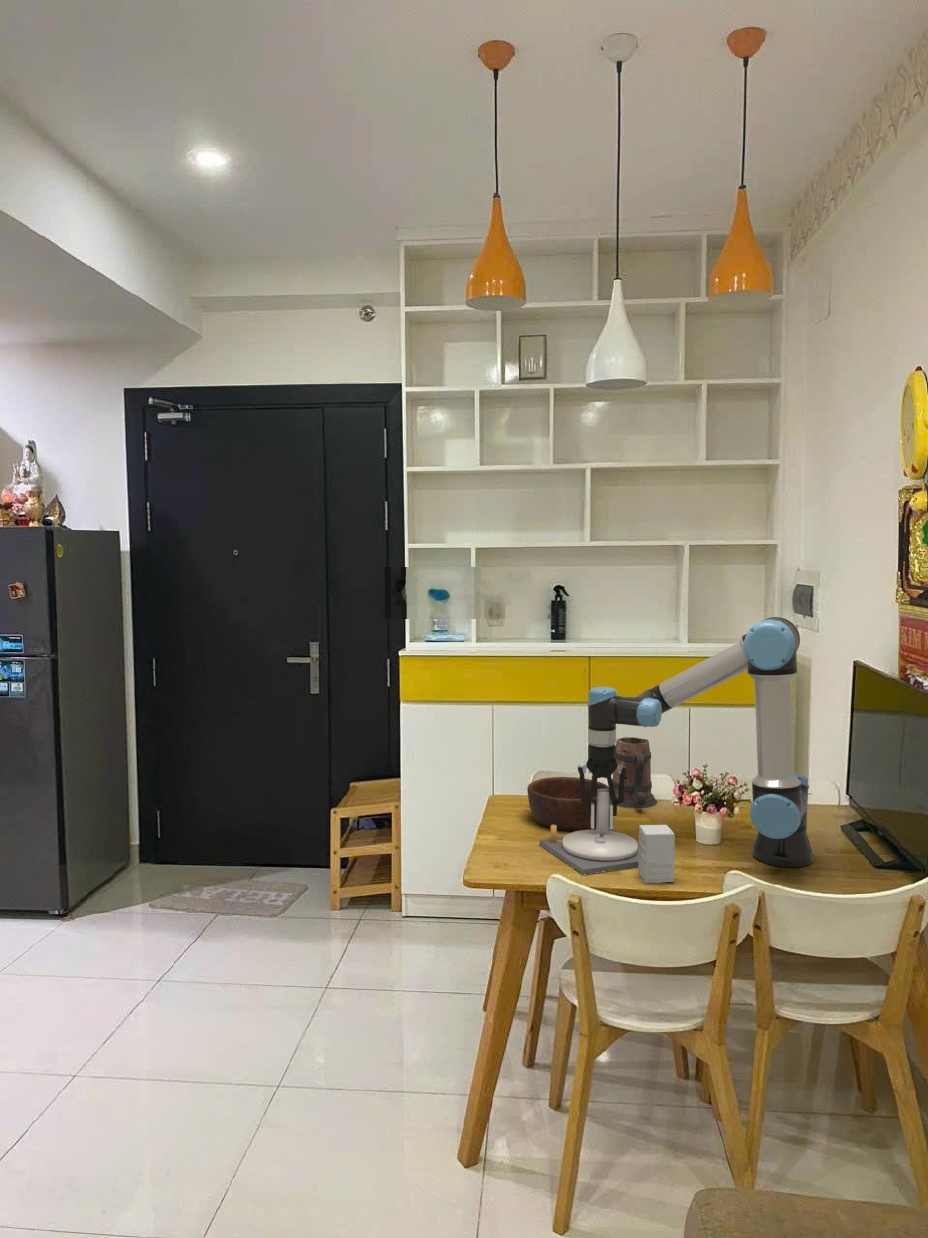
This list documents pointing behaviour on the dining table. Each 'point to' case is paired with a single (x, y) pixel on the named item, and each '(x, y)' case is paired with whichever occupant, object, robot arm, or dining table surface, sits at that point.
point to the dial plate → (582, 864)
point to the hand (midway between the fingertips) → (601, 827)
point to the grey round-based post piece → (600, 837)
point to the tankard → (634, 773)
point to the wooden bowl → (562, 802)
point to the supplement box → (656, 853)
